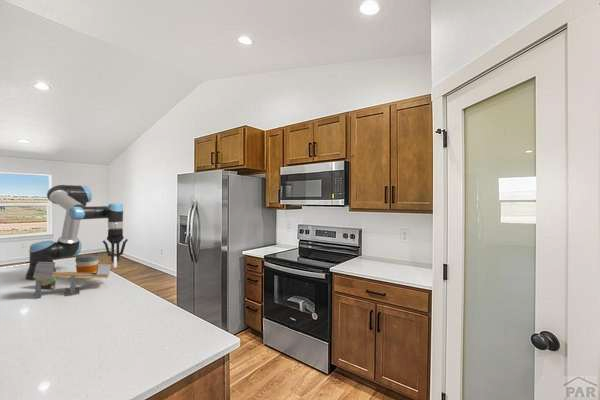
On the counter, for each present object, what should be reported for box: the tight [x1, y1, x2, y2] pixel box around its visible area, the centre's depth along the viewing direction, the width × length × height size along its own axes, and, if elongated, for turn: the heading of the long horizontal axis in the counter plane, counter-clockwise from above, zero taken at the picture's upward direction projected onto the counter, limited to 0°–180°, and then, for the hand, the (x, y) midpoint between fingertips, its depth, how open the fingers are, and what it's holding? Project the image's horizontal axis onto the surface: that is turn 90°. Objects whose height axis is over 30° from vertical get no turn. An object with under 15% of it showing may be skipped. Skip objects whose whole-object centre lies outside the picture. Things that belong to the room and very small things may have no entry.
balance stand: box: [34, 276, 81, 300], centre depth 148 cm, size 12×18×10 cm, turn 129°
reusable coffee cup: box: [75, 253, 100, 281], centre depth 178 cm, size 12×13×15 cm
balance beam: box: [33, 261, 109, 279], centre depth 152 cm, size 9×32×8 cm, turn 129°
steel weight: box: [96, 263, 112, 277], centre depth 161 cm, size 5×6×6 cm
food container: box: [35, 269, 58, 291], centre depth 159 cm, size 12×6×10 cm, turn 84°
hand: (115, 266), depth 164 cm, fingers closed
